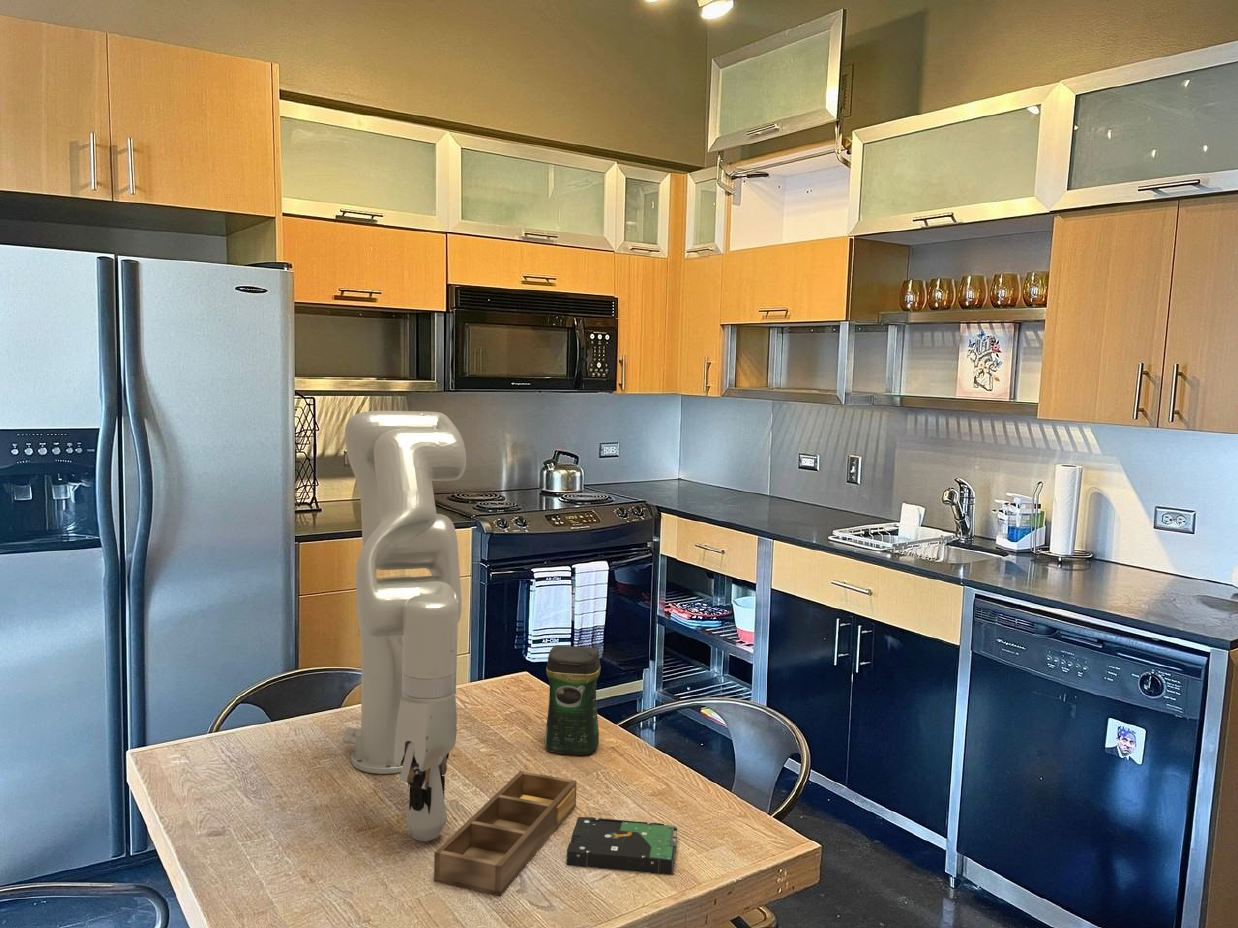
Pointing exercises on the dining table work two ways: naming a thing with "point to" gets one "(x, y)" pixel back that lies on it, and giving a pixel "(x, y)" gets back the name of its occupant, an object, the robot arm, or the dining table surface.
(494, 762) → the dining table surface
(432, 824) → the salt shaker
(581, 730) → the coffee jar
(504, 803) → the wooden compartment tray
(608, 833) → the disk drive
